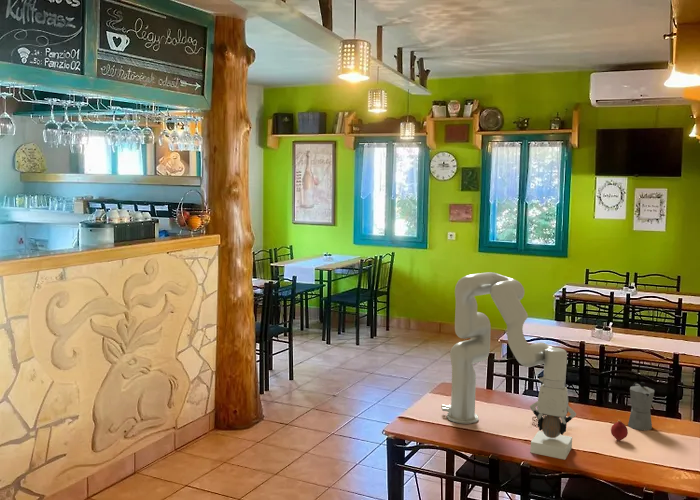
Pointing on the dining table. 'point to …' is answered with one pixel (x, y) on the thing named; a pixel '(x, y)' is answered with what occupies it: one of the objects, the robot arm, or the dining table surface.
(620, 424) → the onion
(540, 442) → the grey block
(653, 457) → the dining table surface
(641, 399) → the coffeepot
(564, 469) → the dining table surface
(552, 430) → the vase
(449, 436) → the dining table surface
